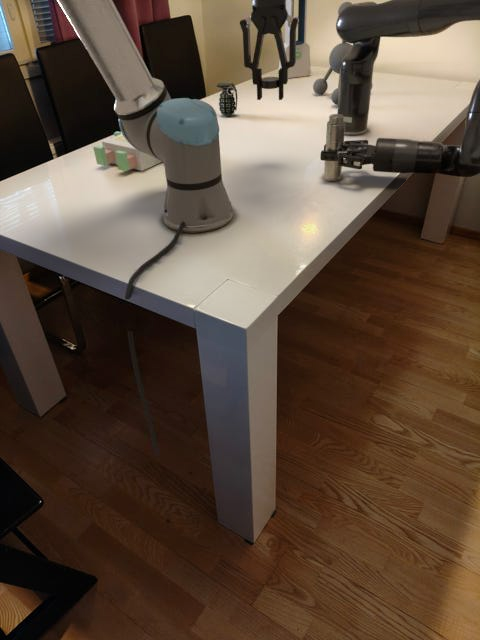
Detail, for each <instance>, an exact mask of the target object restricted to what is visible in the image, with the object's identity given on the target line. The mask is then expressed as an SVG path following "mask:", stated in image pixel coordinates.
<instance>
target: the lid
mask: <svg viewBox="0 0 480 640" xmlns="http://www.w3.org/2000/svg"><path fill="white" fill-rule="evenodd" d="M260 86H261V88H262V89H264V90H274V89H279V76H265V77H262V79H261V82H260Z"/></svg>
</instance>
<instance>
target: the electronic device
mask: <svg viewBox="0 0 480 640" xmlns="http://www.w3.org/2000/svg"><path fill="white" fill-rule="evenodd" d="M297 4H298V6H297V7H298V8H297V12H298V13H297V17H298V18H299V22H298V25H297V39H296V63H295V65H294V66H293V67H290V68H288V79H292V78H301V77H309V75H310V74H311V72H312V71H311V70H312V69H311V49H310V45H309V44H308V43H307V14H308V13H307V11H308V10H307V9H308V0H298V3H297ZM294 5H295V0H286V10H287V12H288V15H290V16H293V17H294V13H295V12H294ZM284 26H285V29H284V32H285V36H284V37H285V38H284V42H283V43H284V47H285V52H286V57H287V62H288V61H289V40H290V27H289V26H288V21H287V20H286V21H285V23H284ZM280 68H282V67H281V62H280V60H279V63H278V71H279V70H280Z"/></svg>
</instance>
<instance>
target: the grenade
mask: <svg viewBox="0 0 480 640" xmlns="http://www.w3.org/2000/svg"><path fill="white" fill-rule="evenodd" d="M215 87H217V88H219V89H221V93H219V97H218V101H219V102H218V106H219V108H218V109H219V112H220V114H221V115H222V116H224V117H231V116H233V115H234V113H235V112H236V111H237V108H238V89H237V87H236V85H235V84H234V83H233V82H218V83H217V84H216V86H215ZM232 91H233V92H232ZM234 94H235V96H234Z"/></svg>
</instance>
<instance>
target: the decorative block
mask: <svg viewBox="0 0 480 640" xmlns="http://www.w3.org/2000/svg"><path fill="white" fill-rule="evenodd" d="M101 145H102V146H100V145H95V146H92V148H93V152H94V153H93V154H94V156H95V161H96V164H97V165H100V166H103V167H104V166H106V165H109V164H112V165H116V166H117V169H118V170H119V171H122V172H123V171H124V172H128V171H129V170H137V171H141V172H143V171H145V170H147V169H150V168H152V167H153V166H156V165H158V164H160V163H163V161H161V160H159V159H157V158H154V157H152V156H150V155H148V154H146V153H143V152H141V151H139V150H137V149H135V148H134V147H133V146H132V145H131V144H130V143H129V142H128V141H127V140H126V139H125V137H124V136H123V134H122V132H121V131H115V132H113V136H112V137H110V138H107V139H105V140H102V141H101Z"/></svg>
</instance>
